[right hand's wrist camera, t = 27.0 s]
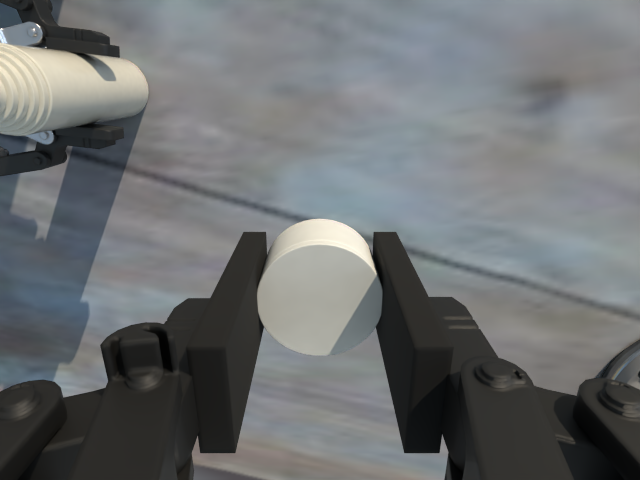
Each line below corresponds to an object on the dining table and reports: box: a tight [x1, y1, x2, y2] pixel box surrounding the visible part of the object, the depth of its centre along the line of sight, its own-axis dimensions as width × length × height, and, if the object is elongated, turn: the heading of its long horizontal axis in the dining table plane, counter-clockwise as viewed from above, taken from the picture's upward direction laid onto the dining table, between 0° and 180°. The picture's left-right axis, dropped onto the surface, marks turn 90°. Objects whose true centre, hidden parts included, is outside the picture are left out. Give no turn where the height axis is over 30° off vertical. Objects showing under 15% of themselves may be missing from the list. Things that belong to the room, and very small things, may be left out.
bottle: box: [0, 43, 148, 136], centre depth 26 cm, size 5×5×18 cm
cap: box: [257, 219, 383, 356], centre depth 13 cm, size 4×4×2 cm
